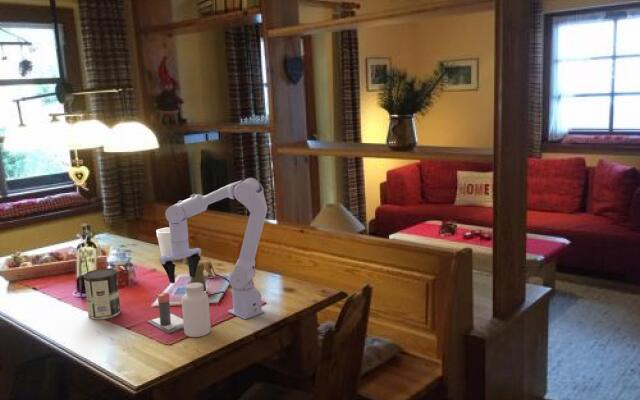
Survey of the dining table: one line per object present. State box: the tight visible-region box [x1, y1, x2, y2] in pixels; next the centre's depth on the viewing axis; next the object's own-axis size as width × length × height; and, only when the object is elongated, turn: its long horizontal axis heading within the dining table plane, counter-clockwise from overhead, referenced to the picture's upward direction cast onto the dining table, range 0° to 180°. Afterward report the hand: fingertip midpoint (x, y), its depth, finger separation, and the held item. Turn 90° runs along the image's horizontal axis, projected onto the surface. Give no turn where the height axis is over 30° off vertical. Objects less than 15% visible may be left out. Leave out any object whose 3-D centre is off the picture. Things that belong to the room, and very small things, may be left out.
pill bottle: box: [181, 282, 212, 338], centre depth 173 cm, size 8×8×15 cm
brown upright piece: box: [190, 263, 207, 292], centre depth 206 cm, size 6×6×11 cm
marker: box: [157, 292, 171, 326], centre depth 178 cm, size 3×3×10 cm
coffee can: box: [83, 267, 122, 321], centre depth 189 cm, size 10×10×14 cm
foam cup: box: [155, 227, 171, 257], centre depth 248 cm, size 10×9×13 cm
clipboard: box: [146, 312, 184, 335], centre depth 181 cm, size 13×9×1 cm
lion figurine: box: [182, 257, 220, 278], centre depth 225 cm, size 15×5×9 cm, turn 76°
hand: (182, 279), depth 190 cm, fingers open, 7 cm apart
